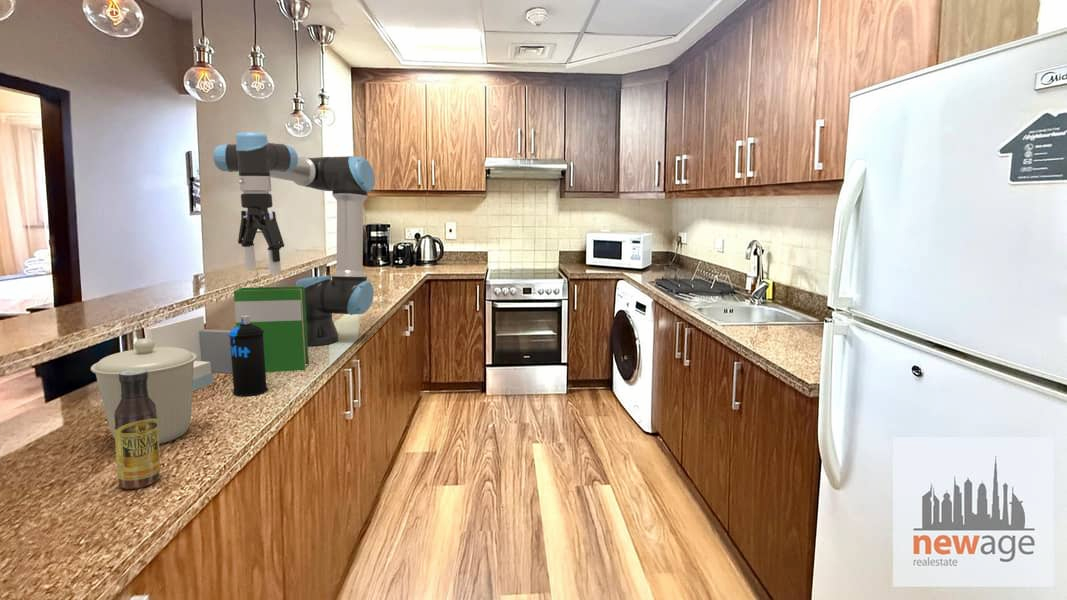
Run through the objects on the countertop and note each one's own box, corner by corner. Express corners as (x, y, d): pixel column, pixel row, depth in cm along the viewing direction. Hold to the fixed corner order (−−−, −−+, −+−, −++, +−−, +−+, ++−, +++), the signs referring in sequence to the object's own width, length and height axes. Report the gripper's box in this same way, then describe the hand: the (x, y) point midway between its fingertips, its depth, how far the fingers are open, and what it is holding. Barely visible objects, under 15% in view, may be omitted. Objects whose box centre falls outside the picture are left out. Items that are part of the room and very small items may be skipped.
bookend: (208, 369, 175) (205, 329, 173) (241, 371, 173) (238, 330, 171) (202, 371, 172) (199, 331, 170) (236, 373, 170) (233, 332, 168)
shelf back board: (204, 369, 175) (199, 315, 172) (207, 369, 175) (203, 315, 172) (152, 388, 156) (147, 328, 154) (156, 388, 156) (151, 328, 154)
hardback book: (308, 363, 181) (304, 286, 177) (304, 370, 174) (300, 289, 170) (246, 366, 178) (240, 287, 174) (239, 373, 170) (233, 291, 167)
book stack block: (178, 380, 163) (176, 359, 162) (213, 382, 161) (211, 361, 160) (154, 389, 155) (151, 367, 154) (190, 392, 153) (188, 369, 152)
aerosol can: (257, 385, 159) (251, 312, 156) (274, 390, 155) (269, 315, 152) (226, 392, 153) (220, 316, 150) (243, 398, 148) (237, 320, 145)
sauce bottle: (124, 494, 99) (111, 379, 96) (114, 483, 103) (101, 372, 100) (168, 481, 103) (157, 371, 100) (156, 471, 108) (146, 365, 104)
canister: (222, 426, 130) (215, 331, 126) (152, 459, 112) (142, 351, 109) (154, 419, 134) (145, 327, 130) (76, 450, 116) (63, 346, 113)
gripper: (220, 192, 162) (227, 269, 166) (266, 192, 147) (272, 277, 151) (247, 192, 168) (253, 267, 172) (294, 192, 152) (300, 274, 156)
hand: (262, 272), depth 161 cm, fingers open, 13 cm apart
